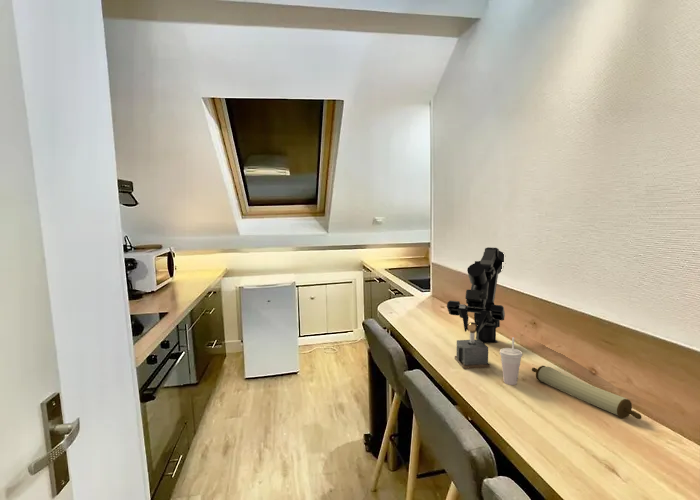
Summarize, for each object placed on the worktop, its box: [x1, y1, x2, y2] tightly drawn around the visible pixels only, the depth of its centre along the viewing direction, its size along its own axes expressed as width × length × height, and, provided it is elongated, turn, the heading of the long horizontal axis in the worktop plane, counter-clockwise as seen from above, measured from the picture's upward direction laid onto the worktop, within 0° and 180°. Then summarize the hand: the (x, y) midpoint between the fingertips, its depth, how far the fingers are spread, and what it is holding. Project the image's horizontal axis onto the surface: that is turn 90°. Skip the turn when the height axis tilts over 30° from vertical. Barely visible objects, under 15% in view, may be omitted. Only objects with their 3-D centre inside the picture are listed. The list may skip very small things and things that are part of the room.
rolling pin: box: [531, 365, 643, 420], centre depth 112 cm, size 32×6×5 cm, turn 24°
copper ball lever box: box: [454, 339, 491, 370], centre depth 138 cm, size 9×9×7 cm
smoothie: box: [499, 336, 523, 386], centre depth 122 cm, size 6×6×14 cm
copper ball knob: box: [467, 321, 478, 345], centre depth 137 cm, size 6×6×9 cm
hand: (471, 331), depth 136 cm, fingers closed on copper ball knob, 4 cm apart
